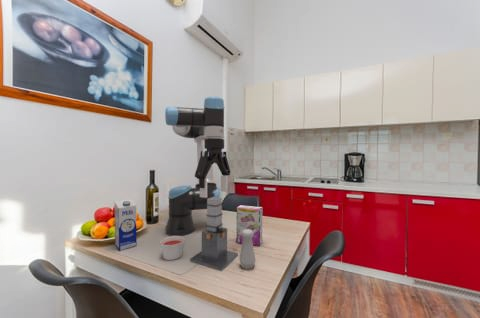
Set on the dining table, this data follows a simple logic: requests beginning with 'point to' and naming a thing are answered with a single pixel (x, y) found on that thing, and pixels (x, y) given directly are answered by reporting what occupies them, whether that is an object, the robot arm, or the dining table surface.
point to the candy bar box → (249, 223)
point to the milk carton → (125, 224)
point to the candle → (172, 247)
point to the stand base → (214, 250)
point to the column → (214, 214)
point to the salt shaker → (247, 250)
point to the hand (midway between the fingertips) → (214, 194)
